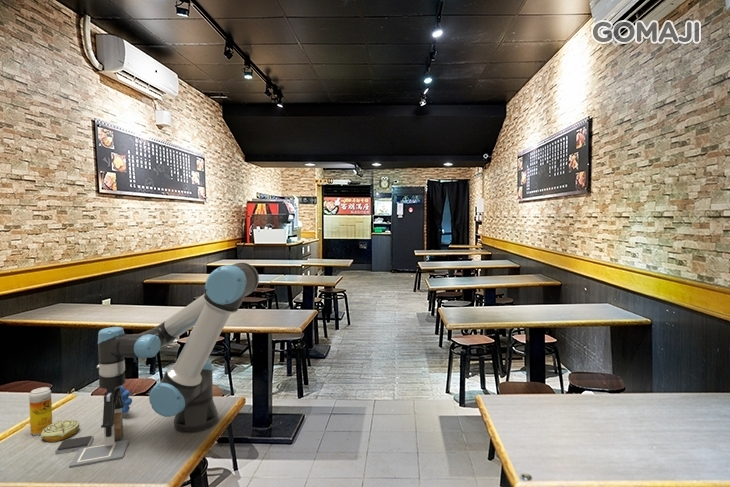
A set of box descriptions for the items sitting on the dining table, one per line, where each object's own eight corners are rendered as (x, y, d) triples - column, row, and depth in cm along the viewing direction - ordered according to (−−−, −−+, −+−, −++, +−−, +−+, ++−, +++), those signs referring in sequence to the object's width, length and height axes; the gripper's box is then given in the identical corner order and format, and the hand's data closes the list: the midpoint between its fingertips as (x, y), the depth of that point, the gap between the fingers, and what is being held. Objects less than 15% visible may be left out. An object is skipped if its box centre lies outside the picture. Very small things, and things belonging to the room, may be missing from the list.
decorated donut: (33, 444, 139) (33, 433, 139) (55, 428, 150) (55, 418, 150) (66, 442, 140) (65, 431, 140) (85, 427, 150) (85, 417, 150)
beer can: (40, 436, 143) (38, 394, 143) (26, 435, 144) (24, 392, 144) (56, 428, 149) (55, 387, 149) (42, 427, 150) (41, 386, 150)
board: (128, 441, 140) (128, 439, 140) (122, 458, 130) (122, 455, 130) (79, 449, 135) (79, 447, 135) (69, 467, 125) (69, 465, 125)
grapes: (140, 413, 161) (140, 383, 160) (126, 421, 154) (125, 389, 154) (116, 410, 164) (115, 380, 163) (101, 417, 157) (100, 386, 157)
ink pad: (93, 438, 142) (93, 434, 142) (88, 448, 135) (88, 444, 135) (62, 443, 139) (62, 439, 139) (55, 454, 132) (55, 450, 132)
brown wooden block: (123, 434, 145) (122, 411, 144) (120, 440, 140) (119, 417, 140) (108, 436, 143) (107, 414, 143) (105, 443, 139) (104, 419, 139)
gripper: (107, 364, 151) (108, 422, 152) (89, 388, 128) (91, 456, 129) (130, 361, 154) (132, 418, 154) (117, 384, 131) (119, 451, 132)
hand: (113, 436), depth 142 cm, fingers open, 12 cm apart
